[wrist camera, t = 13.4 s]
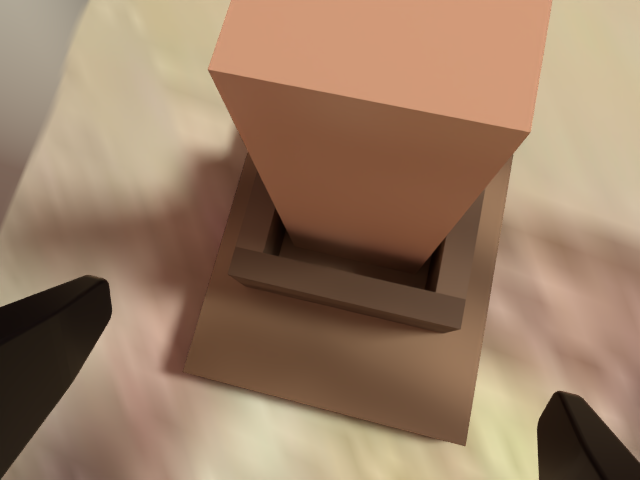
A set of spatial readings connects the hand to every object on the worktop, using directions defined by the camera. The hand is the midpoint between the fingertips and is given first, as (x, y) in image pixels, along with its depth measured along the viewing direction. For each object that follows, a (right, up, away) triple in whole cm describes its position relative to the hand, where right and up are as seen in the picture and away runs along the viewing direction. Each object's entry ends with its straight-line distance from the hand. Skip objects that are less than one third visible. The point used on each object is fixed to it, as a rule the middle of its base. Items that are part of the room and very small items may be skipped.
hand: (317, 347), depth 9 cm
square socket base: (+2, +2, +11) cm, 12 cm away
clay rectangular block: (+2, +2, +10) cm, 11 cm away
